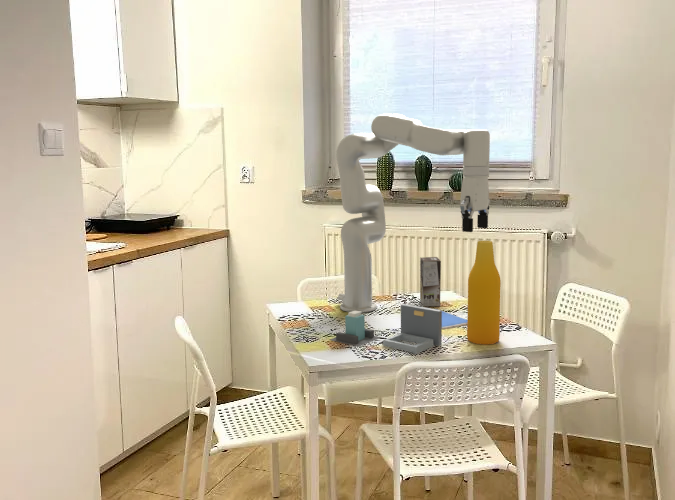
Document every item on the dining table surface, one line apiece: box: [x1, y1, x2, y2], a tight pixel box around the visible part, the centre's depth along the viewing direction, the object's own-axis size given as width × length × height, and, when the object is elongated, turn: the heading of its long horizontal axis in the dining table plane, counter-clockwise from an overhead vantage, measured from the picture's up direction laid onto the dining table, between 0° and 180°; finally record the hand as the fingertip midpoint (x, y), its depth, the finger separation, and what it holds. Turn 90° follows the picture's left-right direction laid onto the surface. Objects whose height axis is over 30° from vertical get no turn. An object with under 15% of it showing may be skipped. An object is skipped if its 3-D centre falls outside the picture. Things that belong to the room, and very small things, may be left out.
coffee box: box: [419, 256, 442, 307], centre depth 242 cm, size 9×6×16 cm
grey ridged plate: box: [329, 328, 382, 347], centre depth 200 cm, size 11×11×2 cm
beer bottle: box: [466, 240, 502, 345], centre depth 196 cm, size 9×9×29 cm
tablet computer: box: [435, 308, 468, 330], centre depth 221 cm, size 19×13×1 cm, turn 29°
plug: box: [344, 311, 366, 341], centre depth 200 cm, size 4×4×8 cm
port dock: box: [382, 303, 443, 355], centre depth 193 cm, size 13×12×10 cm
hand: (475, 229), depth 203 cm, fingers open, 9 cm apart
